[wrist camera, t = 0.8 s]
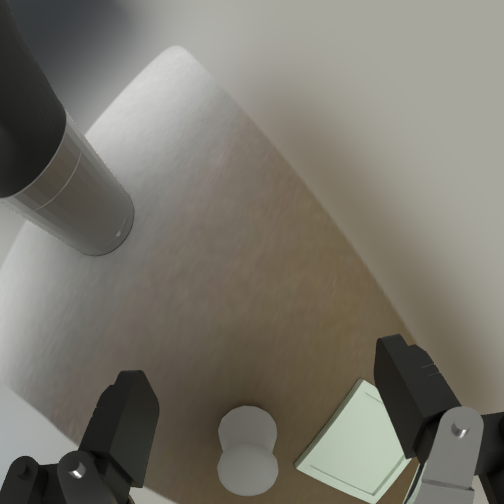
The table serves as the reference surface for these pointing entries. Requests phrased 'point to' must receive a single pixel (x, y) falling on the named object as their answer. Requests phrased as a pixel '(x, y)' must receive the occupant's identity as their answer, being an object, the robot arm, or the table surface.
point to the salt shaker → (247, 451)
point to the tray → (356, 447)
